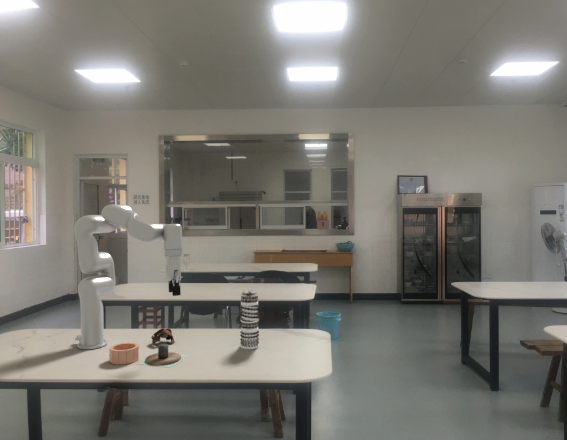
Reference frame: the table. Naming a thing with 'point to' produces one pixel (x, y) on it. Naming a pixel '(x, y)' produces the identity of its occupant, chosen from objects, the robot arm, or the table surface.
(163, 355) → the lid
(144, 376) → the table surface
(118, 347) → the bowl
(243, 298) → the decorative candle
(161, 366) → the mat
